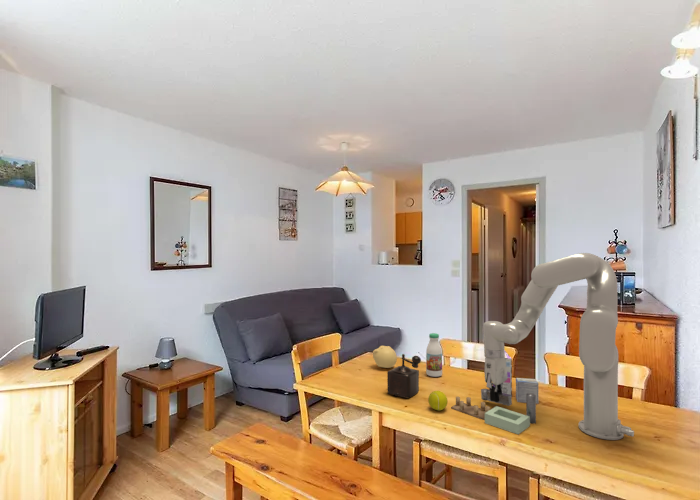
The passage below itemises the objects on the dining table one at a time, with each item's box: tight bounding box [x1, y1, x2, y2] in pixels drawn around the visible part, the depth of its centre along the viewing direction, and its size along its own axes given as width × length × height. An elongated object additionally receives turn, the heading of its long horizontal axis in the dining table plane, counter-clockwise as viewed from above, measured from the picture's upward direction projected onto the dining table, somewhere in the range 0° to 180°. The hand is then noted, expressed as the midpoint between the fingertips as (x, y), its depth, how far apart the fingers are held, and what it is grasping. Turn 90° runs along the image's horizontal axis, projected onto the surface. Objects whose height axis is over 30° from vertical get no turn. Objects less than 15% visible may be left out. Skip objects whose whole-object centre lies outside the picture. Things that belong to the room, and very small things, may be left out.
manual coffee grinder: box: [386, 353, 422, 399], centre depth 162 cm, size 16×11×18 cm
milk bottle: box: [425, 332, 443, 378], centre depth 187 cm, size 8×8×20 cm
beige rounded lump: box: [372, 345, 398, 369], centre depth 200 cm, size 11×12×11 cm
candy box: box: [492, 350, 513, 398], centre depth 165 cm, size 14×6×16 cm, turn 168°
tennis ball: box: [427, 390, 448, 411], centre depth 146 cm, size 7×7×7 cm
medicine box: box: [515, 377, 540, 405], centre depth 154 cm, size 8×4×9 cm, turn 74°
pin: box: [525, 393, 537, 425], centre depth 135 cm, size 3×3×10 cm
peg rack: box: [450, 396, 491, 421], centre depth 144 cm, size 14×7×4 cm, turn 42°
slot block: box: [484, 405, 531, 435], centre depth 133 cm, size 12×9×4 cm
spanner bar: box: [480, 388, 513, 406], centre depth 149 cm, size 12×3×4 cm, turn 42°
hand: (496, 399), depth 149 cm, fingers closed on spanner bar, 2 cm apart
